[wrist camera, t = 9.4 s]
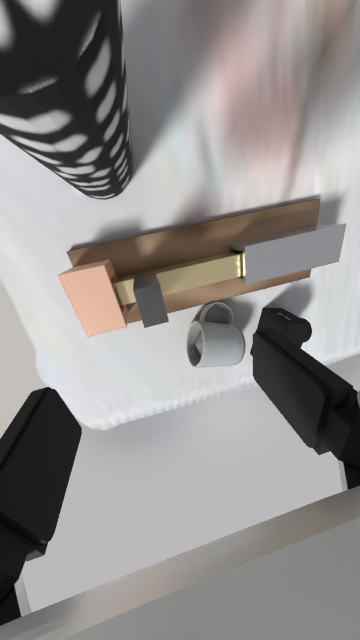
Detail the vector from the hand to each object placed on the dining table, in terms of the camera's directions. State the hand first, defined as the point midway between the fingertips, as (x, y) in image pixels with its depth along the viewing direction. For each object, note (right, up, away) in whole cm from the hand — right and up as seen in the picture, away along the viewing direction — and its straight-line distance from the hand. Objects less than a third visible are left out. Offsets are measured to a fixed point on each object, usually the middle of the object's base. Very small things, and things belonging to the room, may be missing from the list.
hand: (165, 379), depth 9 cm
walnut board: (+5, +11, +21) cm, 24 cm away
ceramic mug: (+6, +1, +26) cm, 27 cm away
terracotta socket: (-10, +7, +18) cm, 22 cm away
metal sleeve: (+15, +14, +21) cm, 29 cm away
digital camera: (+19, 0, +29) cm, 35 cm away
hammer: (0, +9, +18) cm, 21 cm away
